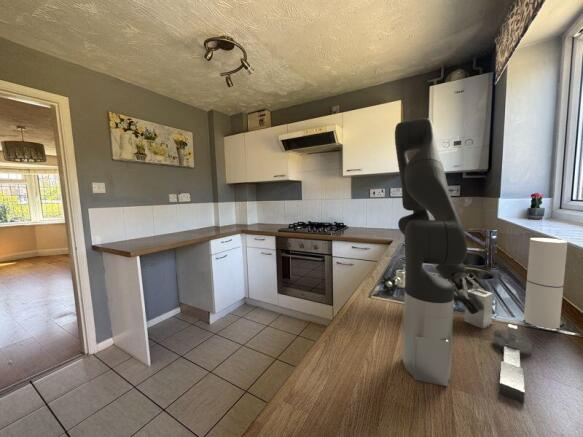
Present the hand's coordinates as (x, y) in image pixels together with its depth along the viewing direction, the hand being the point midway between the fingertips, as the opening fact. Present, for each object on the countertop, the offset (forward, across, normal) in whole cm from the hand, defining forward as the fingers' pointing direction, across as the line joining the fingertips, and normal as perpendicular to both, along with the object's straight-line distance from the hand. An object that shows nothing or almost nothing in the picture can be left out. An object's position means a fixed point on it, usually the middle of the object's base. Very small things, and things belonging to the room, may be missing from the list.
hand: (483, 309), depth 69 cm
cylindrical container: (+9, +15, -2) cm, 18 cm away
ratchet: (+11, -13, -5) cm, 18 cm away
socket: (+2, 0, +4) cm, 5 cm away
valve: (-18, +1, +26) cm, 31 cm away
